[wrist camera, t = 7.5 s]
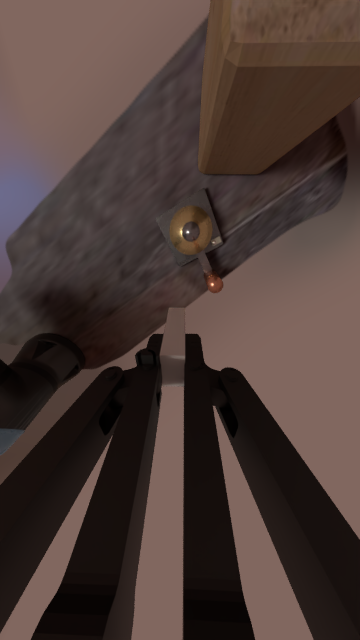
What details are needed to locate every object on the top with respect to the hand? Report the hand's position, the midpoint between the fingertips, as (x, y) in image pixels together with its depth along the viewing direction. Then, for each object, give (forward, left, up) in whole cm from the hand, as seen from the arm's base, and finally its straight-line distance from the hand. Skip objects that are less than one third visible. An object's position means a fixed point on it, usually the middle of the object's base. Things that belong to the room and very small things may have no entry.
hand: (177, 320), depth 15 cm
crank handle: (+5, +3, -18) cm, 19 cm away
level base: (+5, +6, -20) cm, 21 cm away
